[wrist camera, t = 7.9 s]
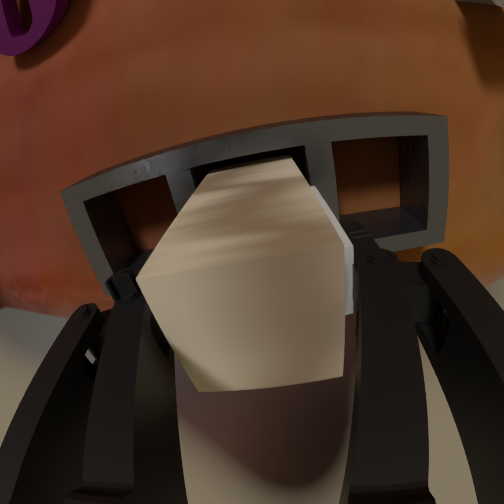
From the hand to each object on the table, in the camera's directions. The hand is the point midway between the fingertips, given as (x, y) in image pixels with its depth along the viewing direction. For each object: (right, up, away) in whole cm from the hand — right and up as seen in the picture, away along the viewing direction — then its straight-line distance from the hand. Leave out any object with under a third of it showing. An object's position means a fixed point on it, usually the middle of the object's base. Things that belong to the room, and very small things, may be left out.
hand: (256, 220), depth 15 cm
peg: (0, +2, +3) cm, 4 cm away
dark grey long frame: (0, +3, +5) cm, 6 cm away
